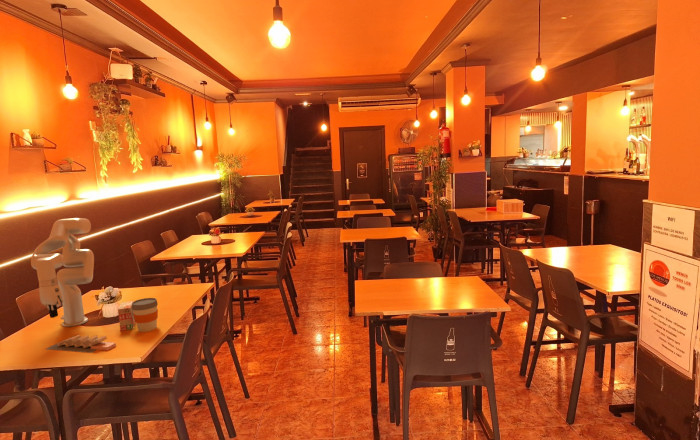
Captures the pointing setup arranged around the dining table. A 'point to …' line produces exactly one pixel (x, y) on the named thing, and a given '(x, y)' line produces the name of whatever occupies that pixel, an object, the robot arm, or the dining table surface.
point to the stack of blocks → (126, 316)
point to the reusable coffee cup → (145, 314)
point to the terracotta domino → (103, 346)
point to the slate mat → (72, 348)
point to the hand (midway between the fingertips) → (54, 316)
